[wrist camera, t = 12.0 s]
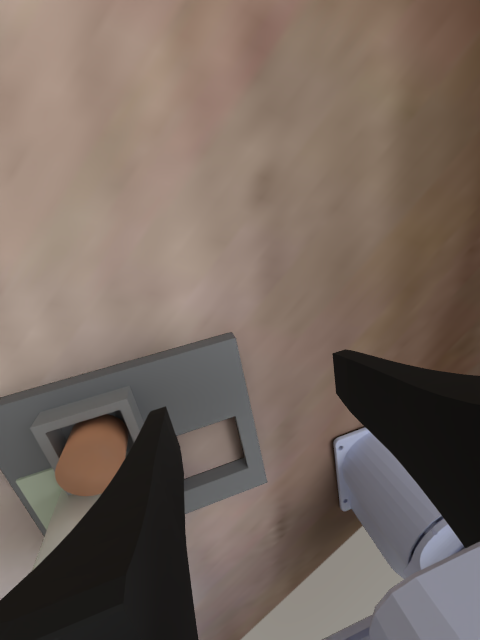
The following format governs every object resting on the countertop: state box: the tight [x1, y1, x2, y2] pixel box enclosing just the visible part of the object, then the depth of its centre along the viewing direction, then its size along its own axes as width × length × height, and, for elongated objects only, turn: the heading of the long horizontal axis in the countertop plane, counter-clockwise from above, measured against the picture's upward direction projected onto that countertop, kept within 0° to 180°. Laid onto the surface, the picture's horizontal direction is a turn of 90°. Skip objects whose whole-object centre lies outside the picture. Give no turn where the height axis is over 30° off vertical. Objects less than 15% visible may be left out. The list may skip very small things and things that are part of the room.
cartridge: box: [32, 489, 102, 571], centre depth 19 cm, size 4×4×6 cm
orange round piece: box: [55, 414, 128, 496], centre depth 18 cm, size 4×4×3 cm
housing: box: [0, 332, 267, 537], centre depth 21 cm, size 14×17×3 cm
